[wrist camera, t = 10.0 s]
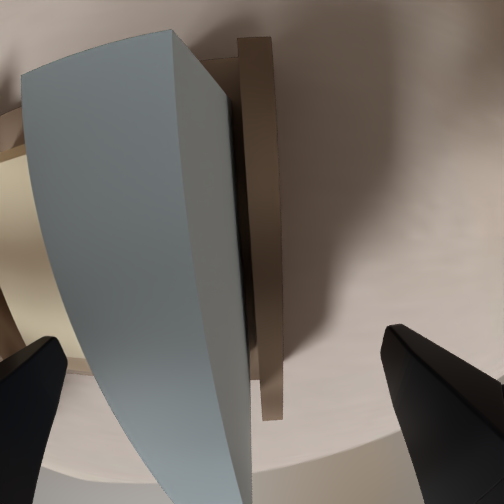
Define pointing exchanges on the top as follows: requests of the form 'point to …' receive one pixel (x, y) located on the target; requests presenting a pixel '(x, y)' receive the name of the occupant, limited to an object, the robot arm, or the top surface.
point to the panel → (150, 251)
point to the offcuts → (30, 263)
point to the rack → (250, 212)
